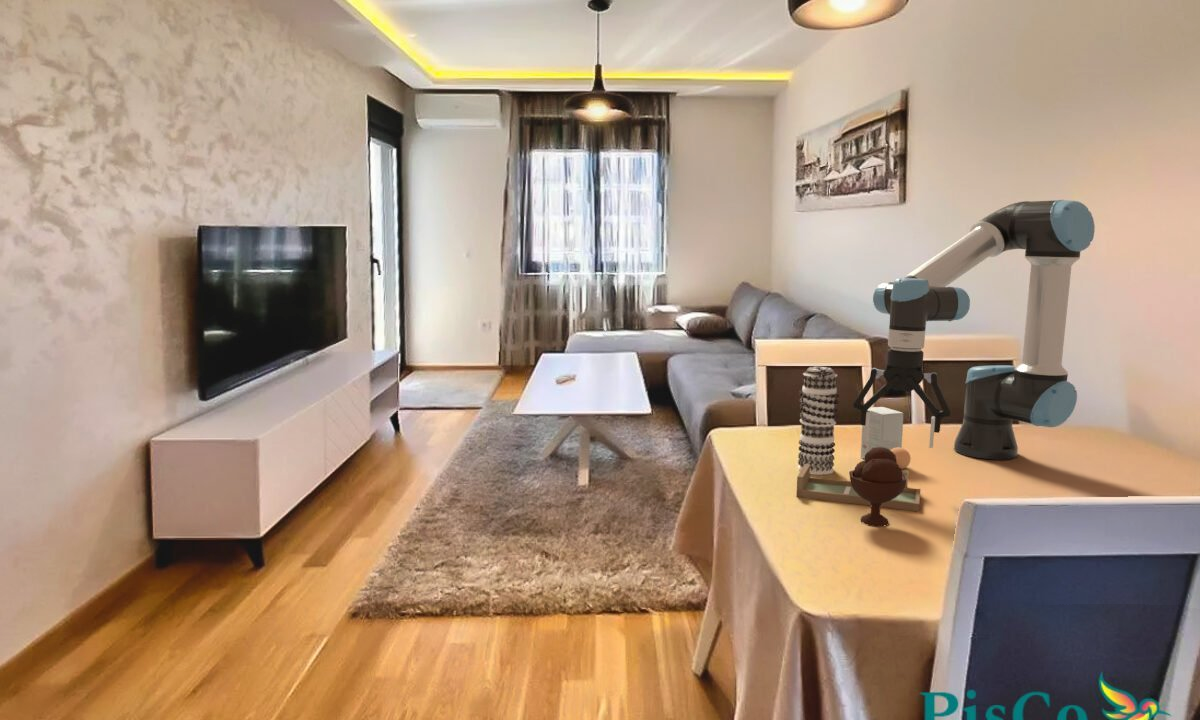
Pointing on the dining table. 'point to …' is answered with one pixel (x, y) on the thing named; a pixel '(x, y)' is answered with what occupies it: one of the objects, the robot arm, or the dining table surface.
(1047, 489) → the dining table surface
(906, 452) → the ball
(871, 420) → the small box
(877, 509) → the ice cream bowl
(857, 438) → the dining table surface
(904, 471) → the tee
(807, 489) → the tray
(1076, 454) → the dining table surface
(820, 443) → the decorative candle
